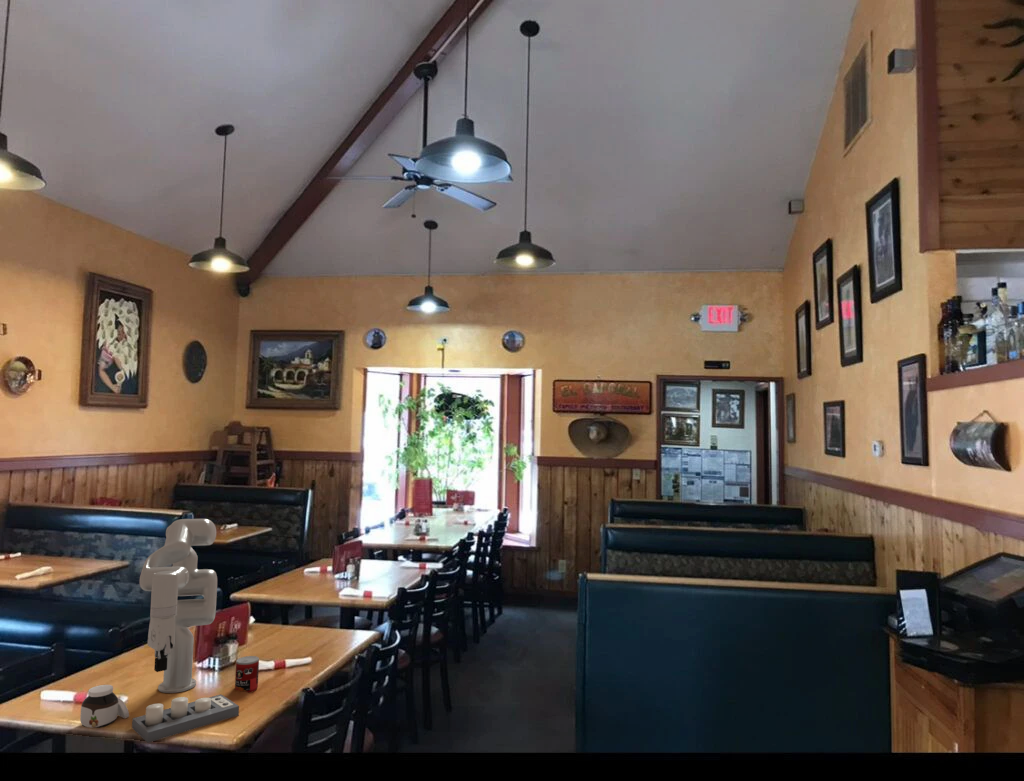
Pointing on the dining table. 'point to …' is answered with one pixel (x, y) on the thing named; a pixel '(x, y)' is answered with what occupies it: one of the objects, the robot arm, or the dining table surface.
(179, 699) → the button
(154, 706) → the button
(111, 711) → the spread jar
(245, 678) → the canned food
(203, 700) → the button
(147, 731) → the board
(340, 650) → the dining table surface
